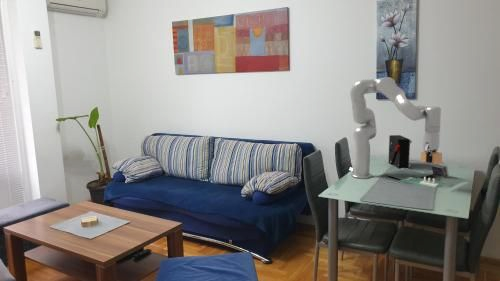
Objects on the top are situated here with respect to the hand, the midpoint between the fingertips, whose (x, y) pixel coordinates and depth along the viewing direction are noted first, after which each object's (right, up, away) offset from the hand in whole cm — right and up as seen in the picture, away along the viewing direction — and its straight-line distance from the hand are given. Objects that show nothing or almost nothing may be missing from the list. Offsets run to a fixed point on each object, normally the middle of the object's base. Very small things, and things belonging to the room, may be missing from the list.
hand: (431, 161), depth 217 cm
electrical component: (+3, -6, +54) cm, 55 cm away
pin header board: (-1, -14, +8) cm, 16 cm away
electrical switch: (+15, -12, +20) cm, 28 cm away
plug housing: (0, 0, 0) cm, 0 cm away
